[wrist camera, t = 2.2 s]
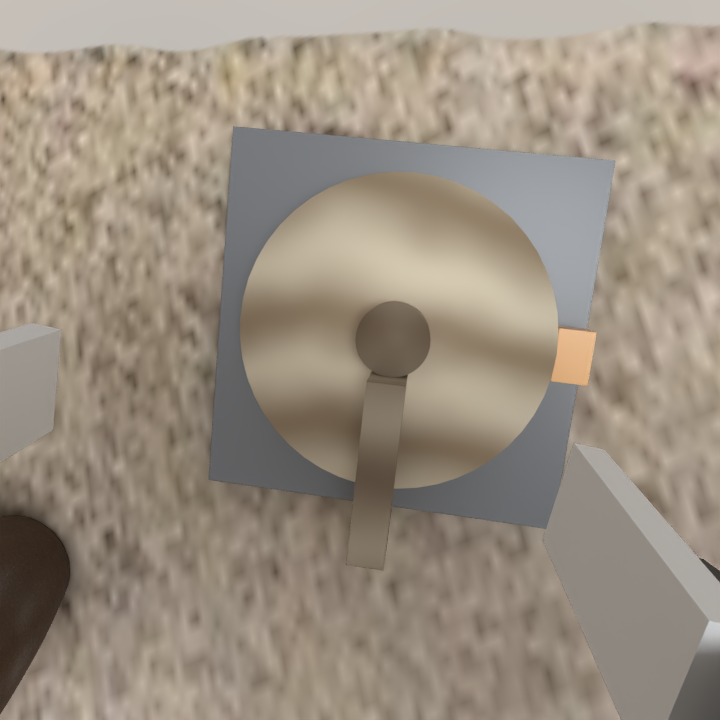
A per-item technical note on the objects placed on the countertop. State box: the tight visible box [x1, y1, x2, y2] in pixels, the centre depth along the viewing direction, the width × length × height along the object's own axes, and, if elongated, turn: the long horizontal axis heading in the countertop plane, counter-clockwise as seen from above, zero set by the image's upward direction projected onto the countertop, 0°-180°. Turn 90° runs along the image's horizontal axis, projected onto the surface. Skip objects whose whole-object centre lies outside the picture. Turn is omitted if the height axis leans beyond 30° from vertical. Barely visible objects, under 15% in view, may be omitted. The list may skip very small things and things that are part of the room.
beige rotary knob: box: [240, 172, 559, 570], centre depth 33 cm, size 21×18×6 cm
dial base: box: [209, 126, 615, 529], centre depth 35 cm, size 22×22×4 cm
